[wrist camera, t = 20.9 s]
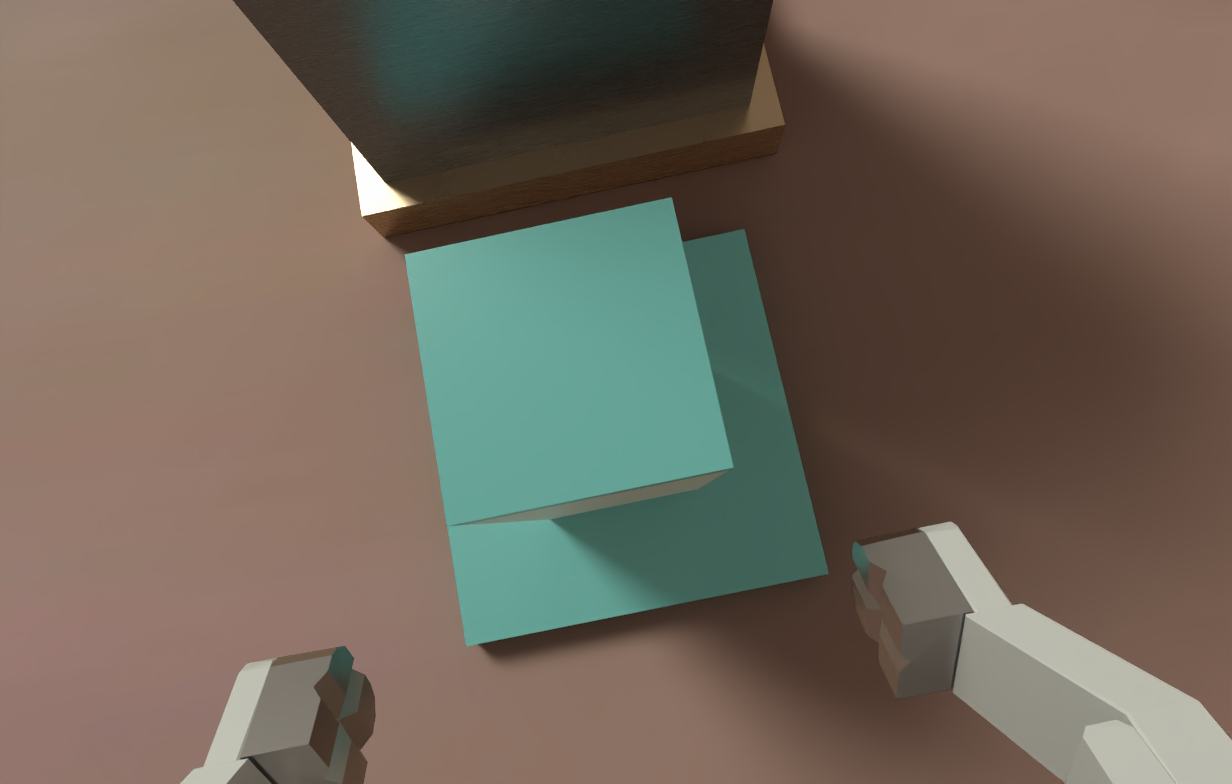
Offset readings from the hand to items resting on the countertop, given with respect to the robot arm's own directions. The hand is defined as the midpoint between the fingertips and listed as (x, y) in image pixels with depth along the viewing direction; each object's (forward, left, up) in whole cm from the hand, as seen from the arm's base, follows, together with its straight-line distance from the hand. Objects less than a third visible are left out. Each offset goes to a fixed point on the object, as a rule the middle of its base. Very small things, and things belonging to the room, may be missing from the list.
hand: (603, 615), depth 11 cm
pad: (0, +4, -13) cm, 14 cm away
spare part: (0, +4, -12) cm, 13 cm away
